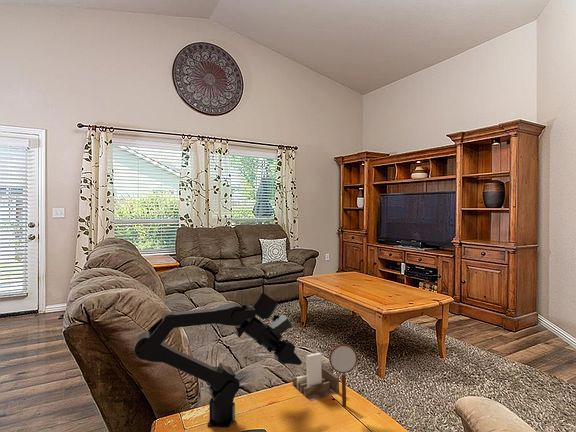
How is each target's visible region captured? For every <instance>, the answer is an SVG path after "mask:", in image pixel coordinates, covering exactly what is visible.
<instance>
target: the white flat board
mask: <svg viewBox="0 0 576 432" xmlns="http://www.w3.org/2000/svg"><path fill="white" fill-rule="evenodd" d="M305 360H306V362H305V363H306V375H307V387H309V386H313V385H316V384H320V383H322V373H321V366H322V353H321V352H316V353H312V354H307V355H306V359H305Z"/></svg>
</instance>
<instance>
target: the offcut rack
mask: <svg viewBox="0 0 576 432" xmlns="http://www.w3.org/2000/svg"><path fill="white" fill-rule="evenodd" d="M321 373H322V383H320V384H316V385H313V386H309V387H307V374H304V375H299V376H295V377H292V378H291V379H292V384H291V386H293V387H294V388H295V389H296V390H297V391H298V392H299V393H300V394H302V395H303V396H304V397H305V399H307V400H308V401H309V402H313V401H316V400H319V399H323V398H327V397H331V396H334V395H338V394H340V377H339V376H337V375H336V374H334V372H332V371H330V370H328V369H327V368H326V367H324V366H322V365H321Z"/></svg>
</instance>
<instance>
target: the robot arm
mask: <svg viewBox="0 0 576 432" xmlns="http://www.w3.org/2000/svg"><path fill="white" fill-rule="evenodd" d="M279 305H280V303H279V302H278V301H276V300H275V299H274V298H272V297H270V296H268V295H267V294H266V293H264V292H263V291H261V292H259V294H258V296H257V298H256V299H255V300H254V302H253V303H252V304H251V305H250V304H239V303H238V302H229V303H224V304H221V305H219V306H217V307H214V308H206V309H205V308H204V309H195V310H194V309H193V310H186V311H184V310H183V311H182V310H181V311H167V312H165V313H164V314H163V316H162V317H160V318H159V319H158V320H157V321H156V322H155V323H153V324H152V325H151V326H150V327H149V328H148V329H147V330H146V331H143V332H141V333H140V334H138V335H137V337H136V338H135V341H134V342H135V344H134V353H135V357H137V358H138V359H139V360H142V361H146V362H150V363H163V364H165V365H168V366H170V367H172V368H173V369H177V370H179V371H181V372H183V373H186V374H188V375H190V376H192V377H195V378H197V379H199V380H201V381H203V382H205V383H207V384H208V385H209V387H208V390H209V392H210V396H211V397H210V399H209V401H208V407H209V420H208V422H207V426H208V427H221V428H223V427H225V428H228V427H230V426H231V424H232V422H233V421H234V419H235V417H236V404H235V403H236V402H235V401H234V400H235V396H236V395H237V393H238V392H239V390H240V386H241V385H240V384H241V383H240V380H239V379H238V377H237V374H236V373H235V371H234V370H233V368H232V367H231V366H227V365H225V364H224V363H222V362H219V364H218V366H212V365H210V364H208V363H206V362H204V361H202V360H200V359H197V358H195V357H193V356H191V355H189V354H186V353H184V352H182V351H181V350H178V349H176V348H174V347H172V346H170V345H169V344H168V343H167V342H166V341H165V339H166V338H167V337H168V335H169V334H170V333H171V332H172V331H173V330H174V329H176V328H185V327H187V328H188V327H193V326H194V327H197V326H202V325H203V326H204V325H212V324H214V325H215V324H216V325H222V326H231V327H232V326H233V327H234V329H235V335H236V336H237V337H238V338H241V337H242V335H243V334H245V335H246V336H248V337H249V338H250V339H252V340H254V341H255V342H256V344H258V345H259V346H262V347H263V348H265V350H266V351H268V352H269V353H272V352H273V355H274V356H273V357H274V359H275V360H276V361H277V362H279V363H280V364H281V365H285V364H287V365H288V364H289V365H298V366H301V365H302V363H303V361H302V360H301V359H300V357H298V355H297V353H295V350H296V345H295V344H293V343H292V342H291V341H289V340H288V339H282V338H283V335H282V334H284V333H285V332H286V331H288V330H289V329H291V328H292V326H293V324H292V323H291V321H290V319H289V318H288V316H286V315H284V314H280V315H278V314H276V313H274V312H275V310H276V309H277V308H278V306H279ZM273 313H274V314H273ZM256 316H257V317H256ZM258 317H259V318H260V319H259V318H258ZM270 318H271V321H270V322H271V323H270V324H268V323H264V322H263V321H264V320H267V321H268V320H269V319H270ZM261 319H262V320H263V321H262V320H261ZM281 339H282V340H281Z"/></svg>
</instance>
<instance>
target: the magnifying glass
mask: <svg viewBox="0 0 576 432" xmlns="http://www.w3.org/2000/svg"><path fill="white" fill-rule="evenodd" d="M357 362H358V354H357V352H356V350H355V349H354V348H353V347H352V346H350V344H345V343H342V344H338V345H336V346H335V347H333V348H332V350H331V351H330V354H329V364H330V367H332V369H333V370H334V371H335V372H337V373H340V374H341V394H342V395H341V398H342V399H341V403H342V404H341V405H342V407H343V408H346V407H347V384H346V383H347V380H346V376H347V375H346V374H347V373H350V372H351V371H353V370H354V368H355V367H356V365H357Z"/></svg>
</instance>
